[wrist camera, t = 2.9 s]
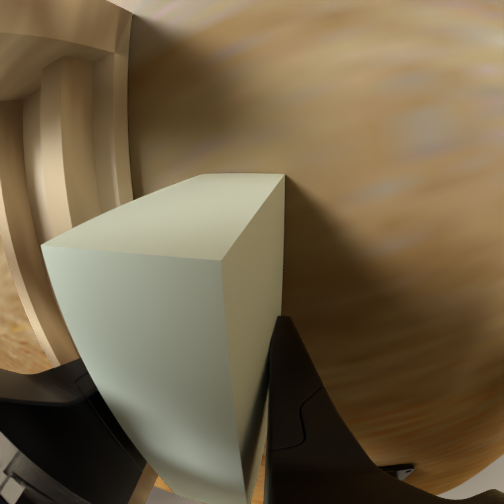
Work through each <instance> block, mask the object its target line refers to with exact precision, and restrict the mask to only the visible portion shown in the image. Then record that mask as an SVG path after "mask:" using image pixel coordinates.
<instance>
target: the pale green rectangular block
mask: <svg viewBox="0 0 504 504" xmlns="http://www.w3.org/2000/svg"><path fill="white" fill-rule="evenodd" d="M284 210H285V174H261V173H222V174H201V175H198V176H195V177H192V178H189V179H187V180H184V181H181V182H179V183H176V184H173V185H171V186H168V187H165V188H163V189H160V190H158V191H155V192H153V193H150V194H148V195H145V196H143V197H140V198H138V199H136V200H133V201H131V202H128V203H126V204H124V205H121V206H119V207H117V208H115V209H112V210H110V211H108V212H106V213H104V214H101V215H99V216H97V217H95V218H93V219H91V220H89V221H86V222H84V223H82V224H80V225H78V226H76V227H74V228H72V229H70V230H68V231H66V232H64V233H62V234H60V235H58V236H56V237H55V238H53V239H51V240H49V241H47V242H45V243H43V244H42V245H41V249H42V253H43V257H44V261H45V264H46V268H47V271H48V274H49V278H50V281H51V284H52V287H53V290H54V293H55V296H56V299H57V301H58V304H59V307H60V309H61V312H62V315H63V317H64V320H65V322H66V325H67V327H68V329H69V332H70V334H71V336H72V339H73V341H74V343H75V345H76V347H77V350H78V352H79V354H80V356H81V358H82V360H83V362H84V364H85V366H86V368H87V370H88V372H89V374H90V376H91V377H92V379H93V381H94V383H95V385H96V387H97V388H98V390H99V392H100V394H101V395H102V397H103V399H104V400H105V402H106V404H107V405H108V407H109V409H110V410H111V412H112V413H113V415H114V416H115V418H116V419H117V421H118V422H119V424H120V425H121V427H122V428H123V430H124V431H125V433H126V434H127V436H128V437H129V438H130V440H131V441H132V442H133V444H134V445H135V447H136V448H137V449H138V451H139V452H140V453H141V454H142V456H143V457H144V458H145V459H146V461H147V462H148V463H149V464H150V466H151V467H152V468H153V469H154V470H155V472H156V473H157V474H158V475H159V476H160V477H161V479H162V480H163V481H164V482H165V483H166V484H167V485H168V486H169V487H170V489H171V490H172V491H173V492H174V493H175V494H176V495H179V496H182V497H186V498H189V499H192V500H196V501H199V502H203V503H207V504H251V500H252V497H253V493H254V489H255V485H256V481H257V477H258V473H259V468H260V464H261V460H262V455H263V451H264V447H265V442H266V438H267V422H268V395H269V369H270V342H271V337H272V334H273V330H274V326H275V323H276V319H277V316H279V315H280V316H281V303H282V280H283V251H284Z"/></svg>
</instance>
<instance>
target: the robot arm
mask: <svg viewBox="0 0 504 504" xmlns="http://www.w3.org/2000/svg"><path fill="white" fill-rule="evenodd" d="M323 386H324V385H323V383H322V381H321V379H320V377H319V375H318V373H317V371H316V368H315V366H314V364H313V362H312V360H311V358H310V356H309V354H308V352H307V350H306V348H305V346H304V344H303V342H302V340H301V337H300V335H299V333H298V331H297V329H296V327H295V325H294V323H293V321H292V319H291V317H290V316H280V315H279V316H277V319H276V323H275V326H274V330H273V334H272V337H271V342H270V369H269V395H268V422H267V445H266V466H265V484H264V501H263V504H504V493H502V492H500V491H498V490H496V489H491V490H488V491H486V492H483V493H481V494H478V495H475V496H473V497H471V498H467V499H462V500H451V499H444V498H441V497H438V496H435V495H433V494H430V493H428V492H426V491H423V490H421V489H419V488H416V487H414V486H412V485H410V484H408V483H405V482H403V480H404V479H405V478H406V477H407V476H409V475H410V474H411V473H412V472H413V471H414V470H415V466H414V465H405V466H398V467H390V468H378V467H377V466H376V465H375V464H374V463H373V462H372V461H371V459H370V458H369V457H368V455H367V454H366V453H365V451H364V450H363V448H362V447H361V446H360V444H359V443H358V441H357V440H356V438H355V437H354V436H353V434H352V433H351V431H350V430H349V428H348V427H347V426H346V424H345V423H344V421H343V420H342V418H341V416H340V415H339V413H338V412H337V410H336V408H335V407H334V405H333V403H332V401H331V399H330V397H329V395H328V393H327V391H326V389H325V387H323ZM146 464H147V461H146V459H145V458H144V457H143V456H142V454H141V453H140V452H139V451H138V449H137V448H136V447H135V445H134V444H133V442H132V441H131V440H130V438H129V437H128V436H127V434H126V433H125V431H124V430H123V428H122V427H121V425H120V424H119V422H118V421H117V419H116V418H115V416H114V415H113V413H112V412H111V410H110V409H109V407H108V405H107V404H106V402H105V400H104V399H103V397H102V395H101V394H100V392H99V390H98V388H97V387H96V385H95V383H94V381H93V379H92V377H91V376H90V374H89V372H88V370H87V368H86V366H85V364H84V362H83V360H82V358H78V359H76V360H73V361H71V362H68V363H66V364H63V365H60V366H57V367H55V368H52V369H49V370H46V371H44V372H41V373H37V374H29V375H27V374H19V373H15V372H11V371H8V370H4V369H0V504H128V503H129V501H130V498H131V496H132V494H133V492H134V490H135V488H136V486H137V483H138V481H139V479H140V477H141V475H142V473H143V470H144V468H145V466H146Z"/></svg>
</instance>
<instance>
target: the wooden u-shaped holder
mask: <svg viewBox="0 0 504 504" xmlns="http://www.w3.org/2000/svg"><path fill="white" fill-rule="evenodd" d="M131 21H132V13H131V12H129V11H127V10H125V9H123V8H121V7H119V6H117V5H115V4H113V3H110V2H108V1H106V0H0V235H1V239H2V243H3V247H4V251H5V254H6V258H7V261H8V264H9V268H10V271H11V274H12V277H13V280H14V283H15V286H16V288H17V291H18V294H19V297H20V299H21V302H22V304H23V307H24V309H25V312H26V314H27V316H28V319H29V321H30V323H31V325H32V328H33V330H34V332H35V334H36V336H37V338H38V340H39V342H40V344H41V346H42V348H43V350H44V352H45V354H46V356H47V358H48V359H49V361H50V363H51V365H52V367H53V368H55V367H57V366H60V365H63V364H66V363H68V362H71V361H73V360H76V359H78V358H81V356H80V354H79V352H78V350H77V347H76V345H75V343H74V341H73V339H72V336H71V334H70V332H69V329H68V327H67V325H66V322H65V320H64V317H63V315H62V312H61V309H60V307H59V304H58V301H57V299H56V296H55V293H54V290H53V287H52V284H51V281H50V278H49V274H48V271H47V268H46V264H45V261H44V257H43V253H42V249H41V245H42V244H43V243H45V242H47V241H49V240H51V239H53V238H55V237H56V236H58V235H60V234H62V233H64V232H66V231H68V230H70V229H72V228H74V227H76V226H78V225H80V224H82V223H84V222H86V221H89V220H91V219H93V218H95V217H97V216H99V215H101V214H104V213H106V212H108V211H110V210H112V209H115V208H117V207H119V206H121V205H124V204H126V203H128V202H131V201H133V193H132V184H131V173H130V160H129V144H128V118H127V82H128V57H129V42H130V31H131ZM157 477H158V474H157V473H156V472H155V470H154V469H153V468H152V467H151V466H150V464H149V463H148V462H147V464H146V466H145V468H144V470H143V473H142V475H141V477H140V479H139V481H138V483H137V486H136V488H135V490H134V492H133V494H132V496H131V498H130V501H129V503H128V504H145V502H146V500H147V498H148V496H149V494H150V492H151V490H152V488H153V486H154V483H155V481H156V479H157Z"/></svg>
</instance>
